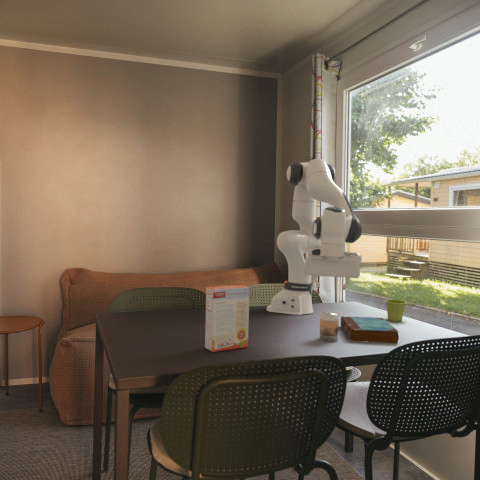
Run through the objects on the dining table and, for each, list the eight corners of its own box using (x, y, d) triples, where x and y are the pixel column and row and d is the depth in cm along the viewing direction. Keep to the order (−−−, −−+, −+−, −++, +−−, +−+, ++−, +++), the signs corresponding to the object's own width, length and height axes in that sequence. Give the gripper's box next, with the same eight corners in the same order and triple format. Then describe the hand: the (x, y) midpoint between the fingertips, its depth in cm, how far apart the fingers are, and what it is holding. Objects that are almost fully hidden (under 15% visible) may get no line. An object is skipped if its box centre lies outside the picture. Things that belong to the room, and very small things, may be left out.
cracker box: (239, 343, 158) (241, 284, 157) (248, 347, 153) (250, 286, 152) (203, 347, 151) (205, 285, 150) (211, 352, 146) (214, 288, 145)
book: (340, 327, 189) (340, 315, 189) (382, 329, 188) (383, 317, 188) (350, 342, 166) (350, 329, 166) (398, 345, 165) (399, 331, 165)
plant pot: (407, 323, 200) (408, 303, 200) (385, 321, 202) (386, 302, 202) (404, 318, 209) (405, 300, 209) (382, 317, 211) (383, 298, 211)
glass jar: (319, 341, 165) (320, 314, 164) (319, 336, 171) (320, 310, 171) (337, 342, 163) (339, 315, 163) (337, 338, 170) (338, 312, 169)
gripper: (361, 252, 167) (359, 289, 168) (305, 249, 171) (303, 285, 171) (362, 253, 161) (360, 291, 161) (304, 250, 164) (303, 288, 165)
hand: (330, 288), depth 166 cm, fingers open, 8 cm apart
